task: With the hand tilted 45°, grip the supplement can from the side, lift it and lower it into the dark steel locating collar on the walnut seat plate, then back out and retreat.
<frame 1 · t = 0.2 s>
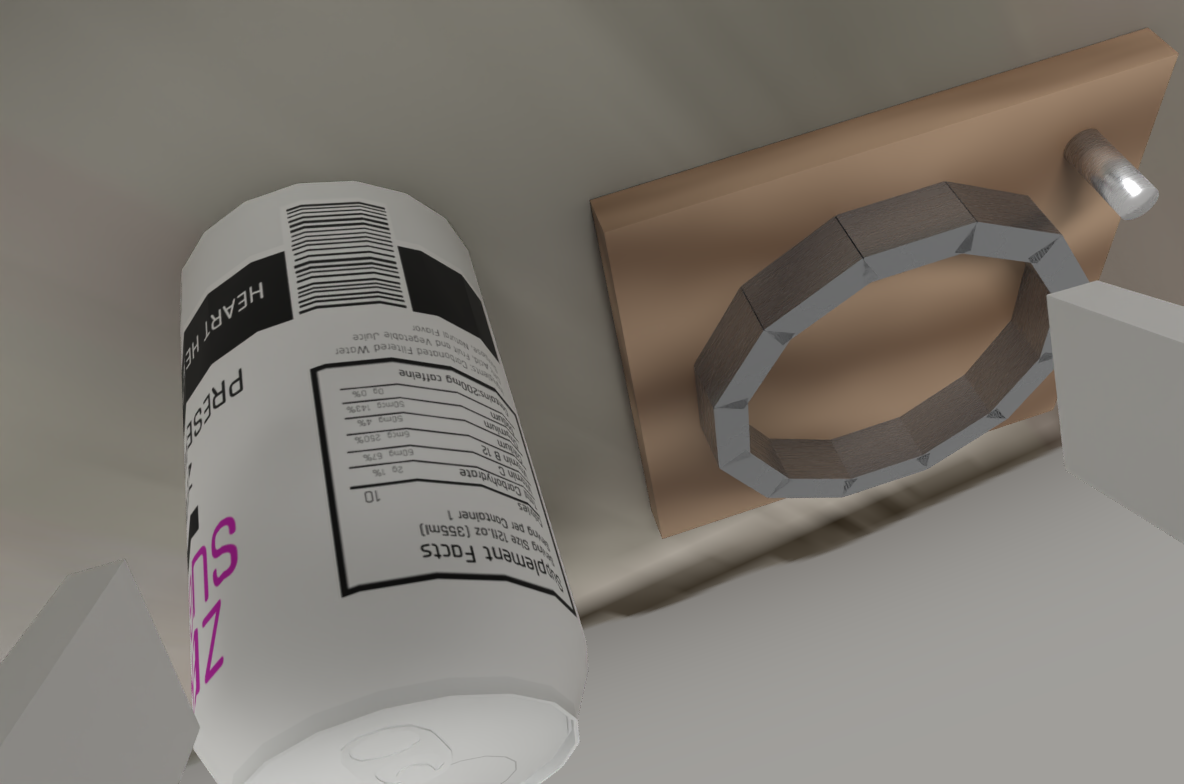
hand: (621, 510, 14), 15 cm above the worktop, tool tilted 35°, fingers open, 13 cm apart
steel collar: (897, 365, 36), on the seat plate, point 3 cm above the worktop
seat plate: (856, 310, 38), on the worktop
supplement can: (328, 275, 30), on the worktop
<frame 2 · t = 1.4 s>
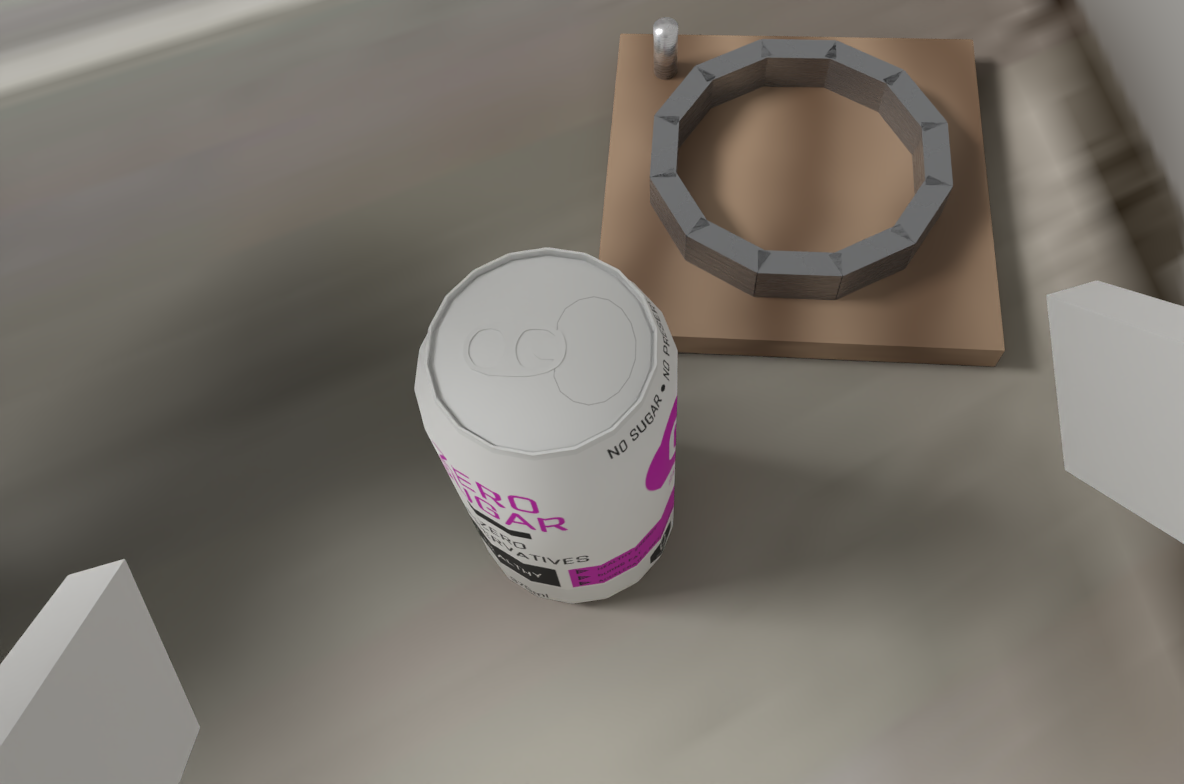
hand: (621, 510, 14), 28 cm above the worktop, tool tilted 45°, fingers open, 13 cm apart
steel collar: (794, 154, 47), on the seat plate, point 3 cm above the worktop
seat plate: (790, 195, 50), on the worktop
supplement can: (578, 514, 44), on the worktop
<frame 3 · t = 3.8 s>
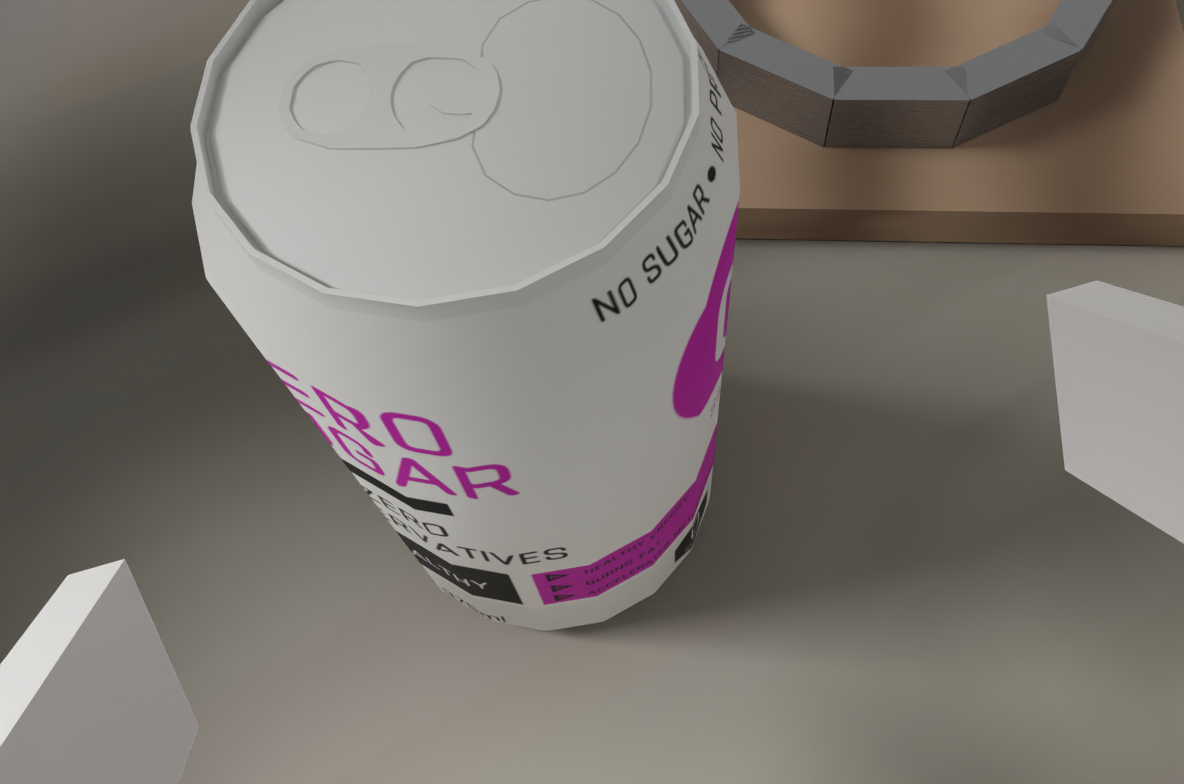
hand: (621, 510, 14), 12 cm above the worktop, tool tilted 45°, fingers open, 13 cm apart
seat plate: (867, 16, 34), on the worktop
supplement can: (556, 486, 27), on the worktop
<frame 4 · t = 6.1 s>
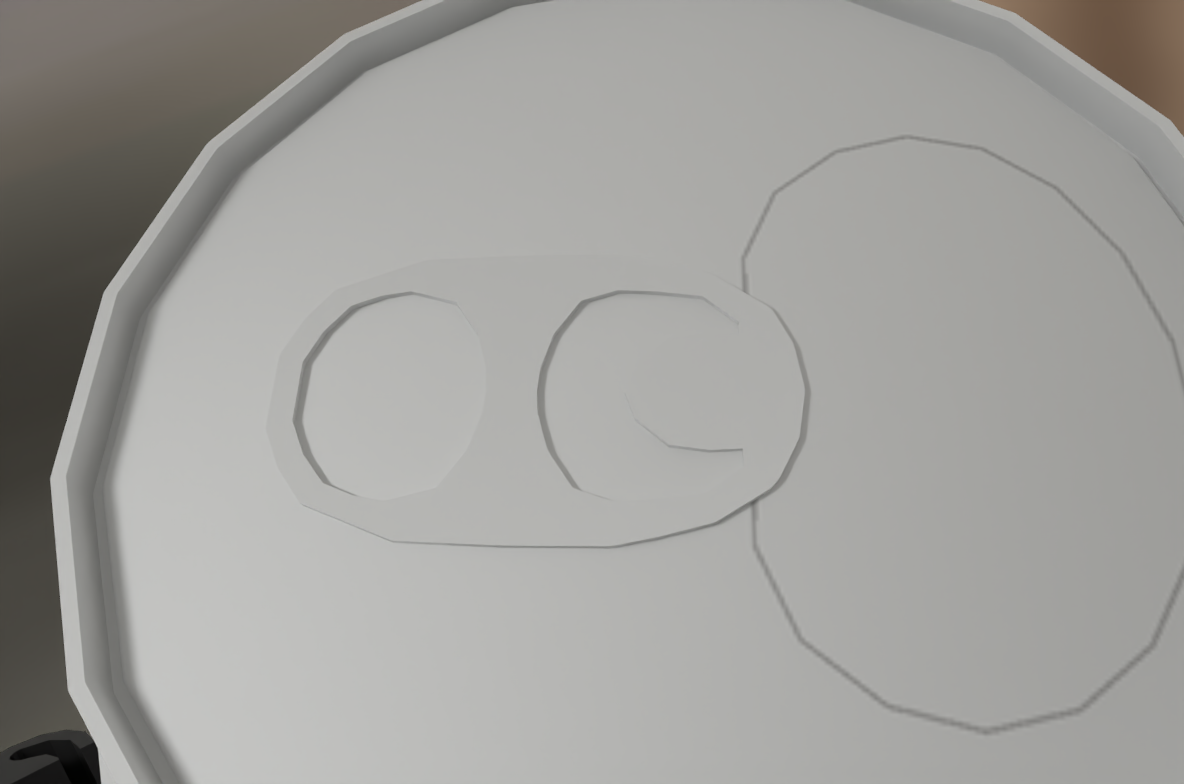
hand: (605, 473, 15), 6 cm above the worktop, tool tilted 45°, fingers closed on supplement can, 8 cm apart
seat plate: (1057, 62, 26), on the worktop
supplement can: (673, 746, 19), on the worktop, touching gripper
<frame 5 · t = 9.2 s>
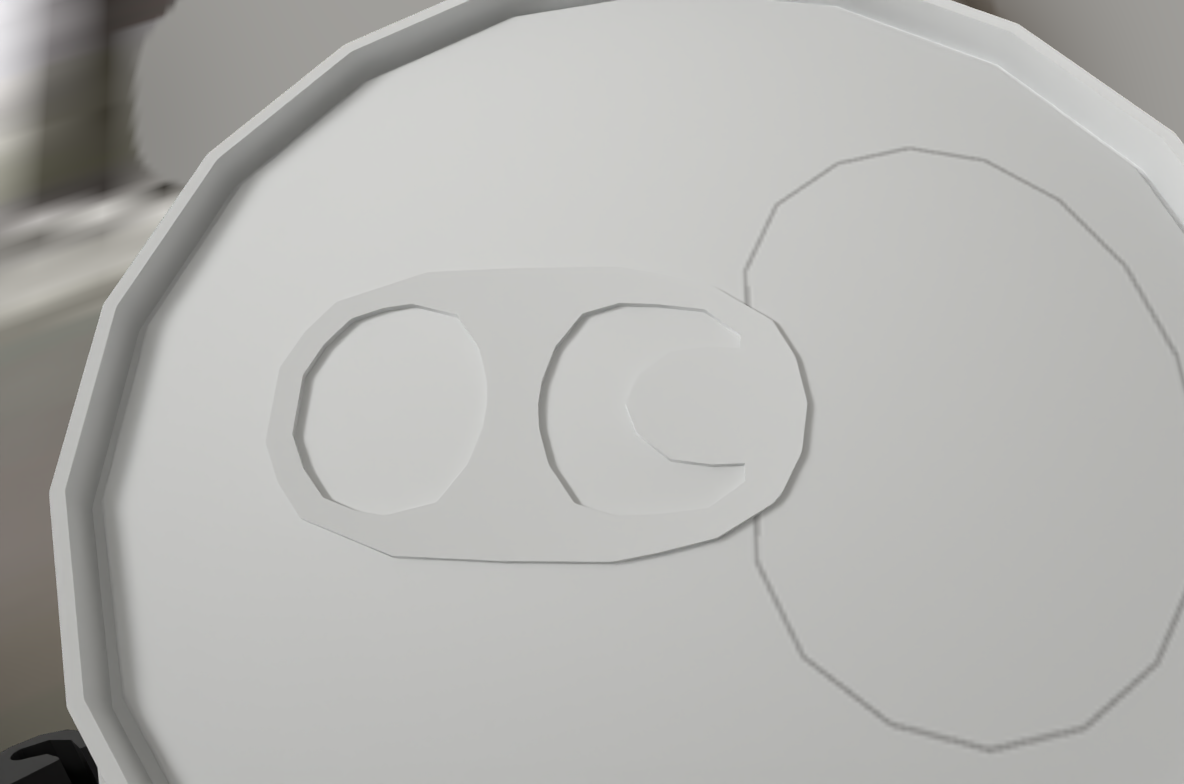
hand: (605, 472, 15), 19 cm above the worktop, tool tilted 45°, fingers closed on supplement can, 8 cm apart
supplement can: (673, 751, 19), point 13 cm above the worktop, touching gripper
when the fingers open (9 cm above the worktop, at t = 12.3 s): supplement can drops 1 cm, resting on seat plate.
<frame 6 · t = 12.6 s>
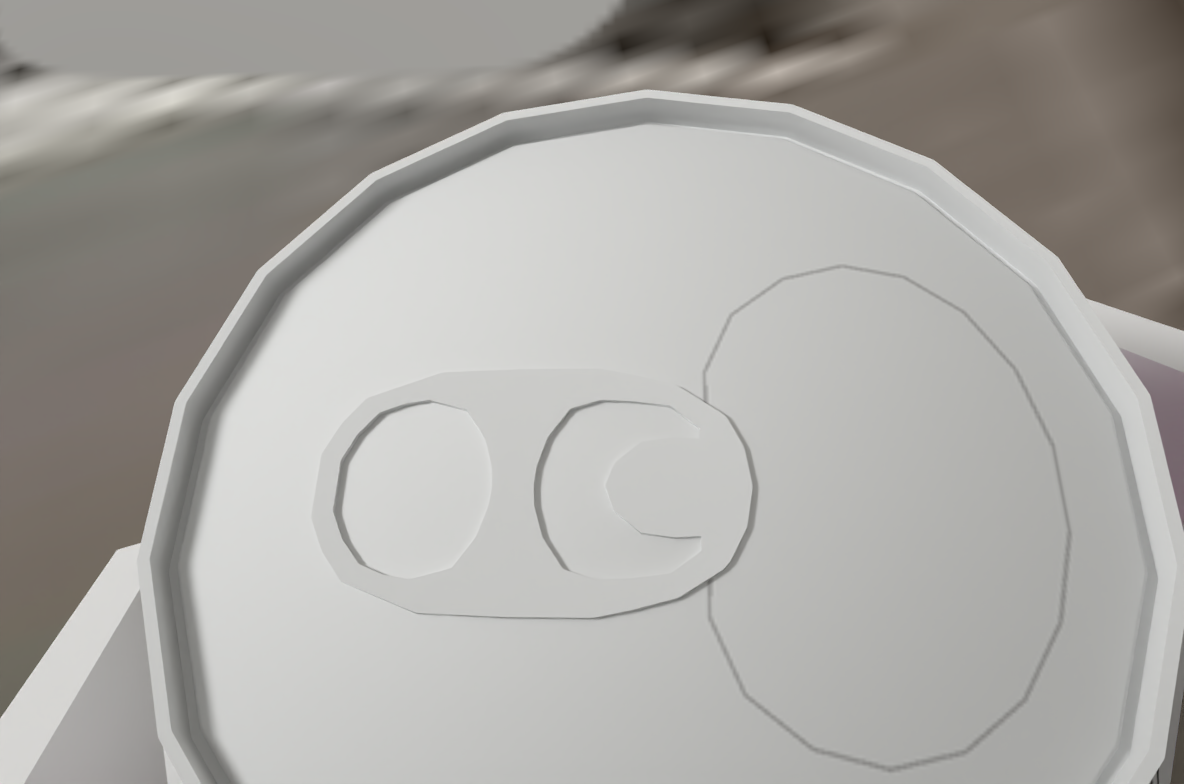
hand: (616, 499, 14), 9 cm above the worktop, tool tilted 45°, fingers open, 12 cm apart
supplement can: (665, 764, 20), point 1 cm above the worktop, touching seat plate
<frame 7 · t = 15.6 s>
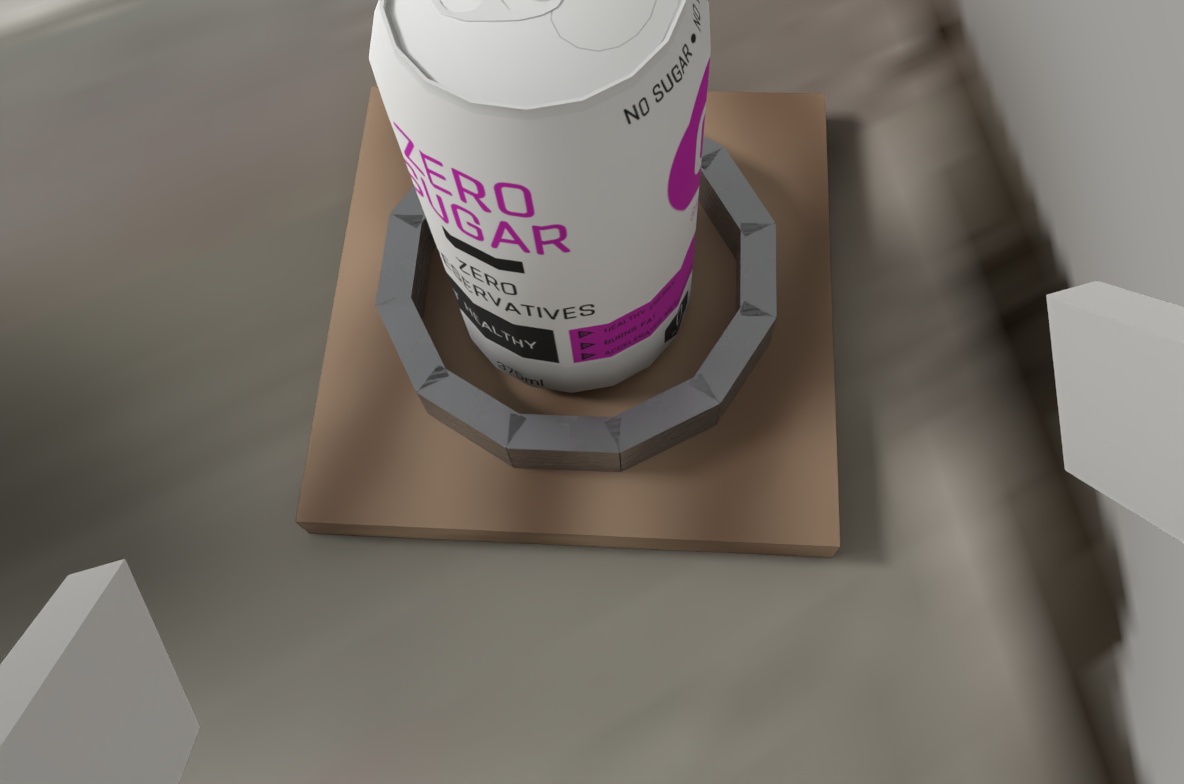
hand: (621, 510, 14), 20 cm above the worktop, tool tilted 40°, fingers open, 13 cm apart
steel collar: (573, 267, 36), on the seat plate, point 2 cm above the worktop
seat plate: (582, 310, 38), on the worktop
supplement can: (576, 297, 37), point 1 cm above the worktop, touching seat plate
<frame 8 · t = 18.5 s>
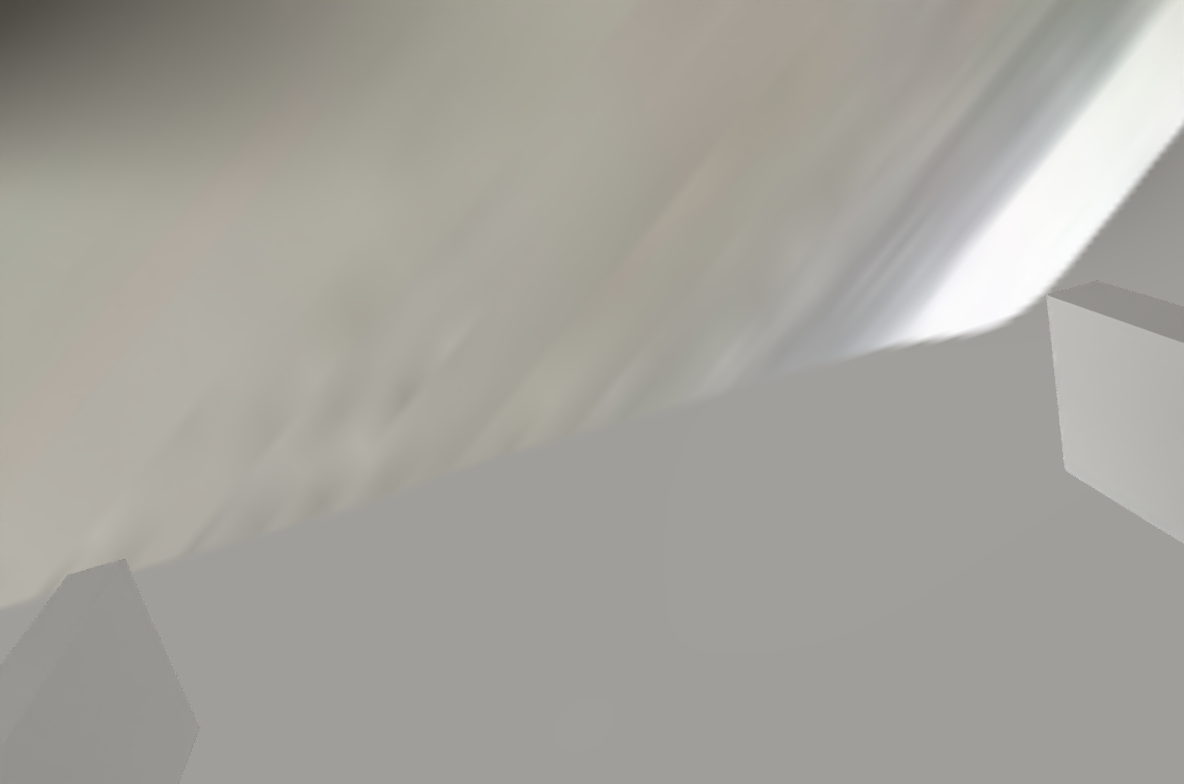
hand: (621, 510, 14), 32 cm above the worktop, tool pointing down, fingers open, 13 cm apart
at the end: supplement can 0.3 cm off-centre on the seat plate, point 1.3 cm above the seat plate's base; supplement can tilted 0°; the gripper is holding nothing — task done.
